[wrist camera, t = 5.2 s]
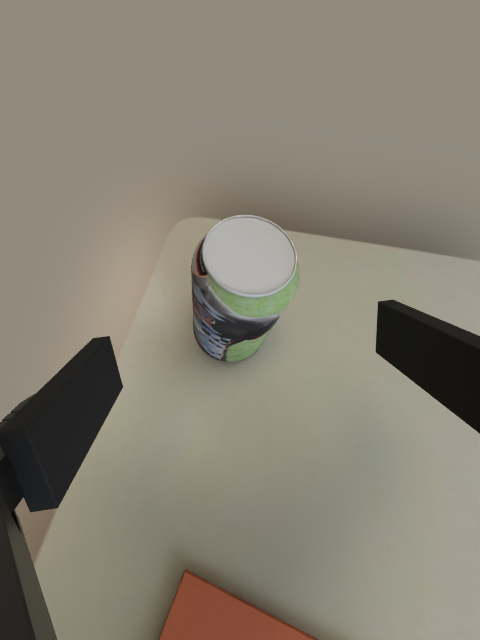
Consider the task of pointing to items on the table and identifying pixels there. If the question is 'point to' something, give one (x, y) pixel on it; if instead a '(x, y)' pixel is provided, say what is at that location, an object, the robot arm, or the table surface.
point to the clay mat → (221, 616)
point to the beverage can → (241, 285)
